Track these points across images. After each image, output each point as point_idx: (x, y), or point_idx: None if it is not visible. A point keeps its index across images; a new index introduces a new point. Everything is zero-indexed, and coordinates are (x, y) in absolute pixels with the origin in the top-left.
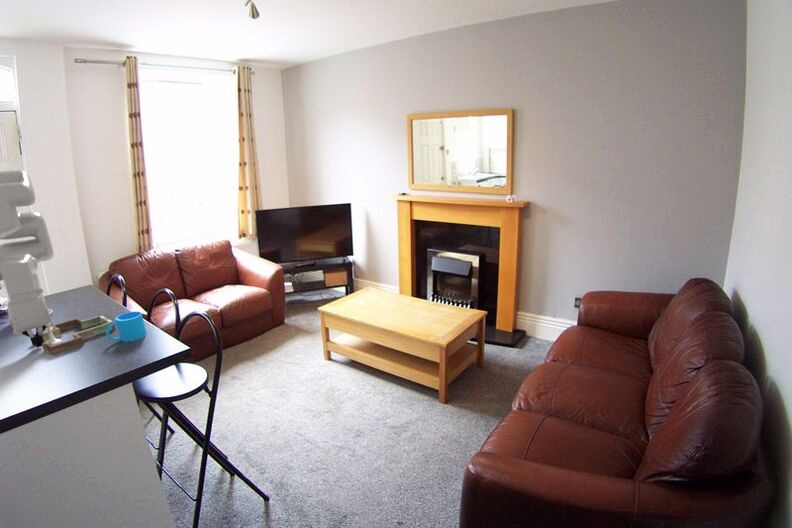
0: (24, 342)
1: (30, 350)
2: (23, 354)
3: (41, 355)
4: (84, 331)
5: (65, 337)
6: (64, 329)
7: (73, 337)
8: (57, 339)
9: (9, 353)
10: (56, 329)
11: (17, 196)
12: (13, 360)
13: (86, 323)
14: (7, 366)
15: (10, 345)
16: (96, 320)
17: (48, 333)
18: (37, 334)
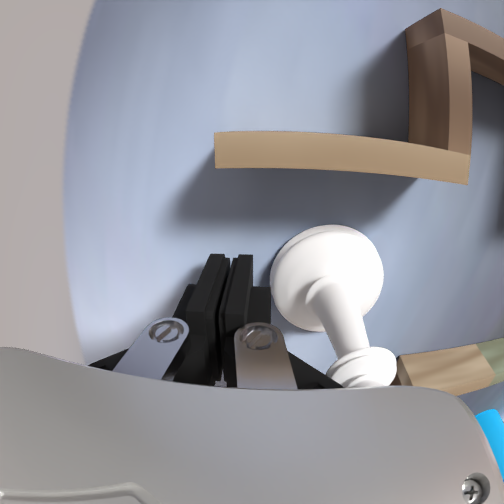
0: (186, 23)
1: (180, 259)
2: (139, 289)
3: (217, 384)
4: (458, 394)
5: (426, 227)
6: (476, 70)
7: (408, 378)
8: (364, 297)
9: (75, 185)
10: (448, 177)
11: None
12: (98, 323)
13: None
14: (87, 361)
15: (107, 15)
16: None
17: (333, 344)
18: (230, 385)
